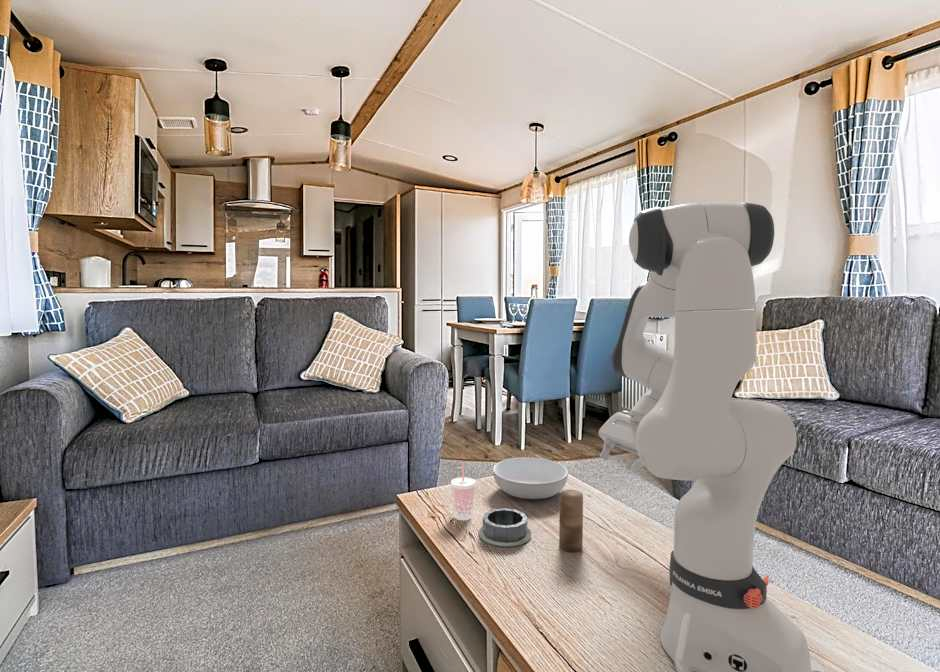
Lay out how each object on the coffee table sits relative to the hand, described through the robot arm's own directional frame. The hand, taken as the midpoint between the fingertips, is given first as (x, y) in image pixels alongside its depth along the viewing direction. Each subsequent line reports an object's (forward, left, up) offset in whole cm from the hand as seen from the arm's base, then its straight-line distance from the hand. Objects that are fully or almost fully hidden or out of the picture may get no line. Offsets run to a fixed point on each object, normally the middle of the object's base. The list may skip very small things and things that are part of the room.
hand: (616, 464), depth 117 cm
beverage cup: (+32, +17, -17) cm, 40 cm away
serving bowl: (+30, -7, -17) cm, 35 cm away
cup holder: (+18, +17, -17) cm, 30 cm away
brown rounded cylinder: (+4, +11, -17) cm, 21 cm away
